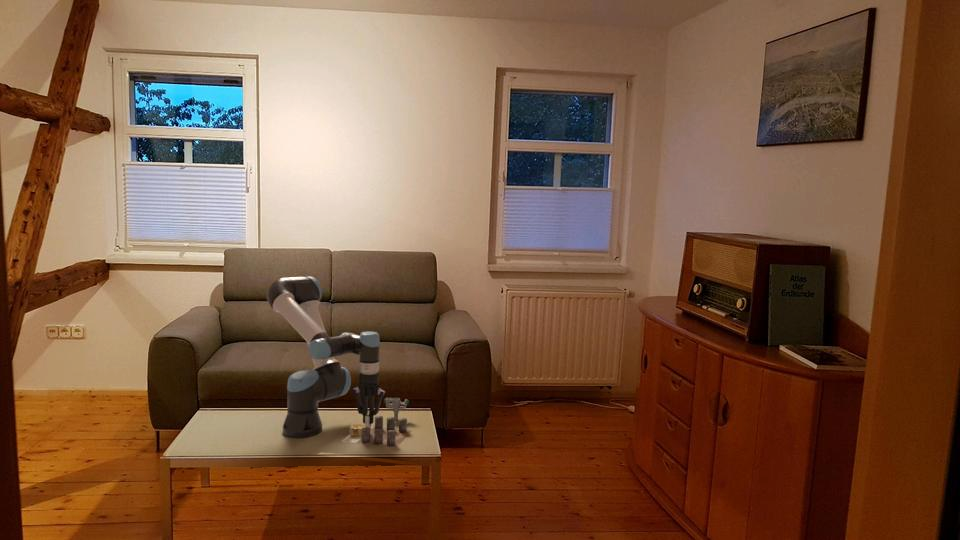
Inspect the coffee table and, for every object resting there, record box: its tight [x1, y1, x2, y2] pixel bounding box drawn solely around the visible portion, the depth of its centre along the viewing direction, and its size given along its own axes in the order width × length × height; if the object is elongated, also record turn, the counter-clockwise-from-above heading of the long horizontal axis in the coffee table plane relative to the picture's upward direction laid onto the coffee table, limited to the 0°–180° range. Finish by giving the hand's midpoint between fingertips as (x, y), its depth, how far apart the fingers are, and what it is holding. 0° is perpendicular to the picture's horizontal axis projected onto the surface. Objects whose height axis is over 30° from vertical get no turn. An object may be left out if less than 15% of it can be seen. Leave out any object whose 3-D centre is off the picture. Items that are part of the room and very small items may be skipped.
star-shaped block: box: [349, 423, 365, 437], centre depth 238 cm, size 7×7×3 cm
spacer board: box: [341, 415, 412, 448], centre depth 236 cm, size 22×18×6 cm
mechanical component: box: [383, 397, 410, 422], centre depth 255 cm, size 3×10×10 cm, turn 89°
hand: (368, 431), depth 237 cm, fingers closed
